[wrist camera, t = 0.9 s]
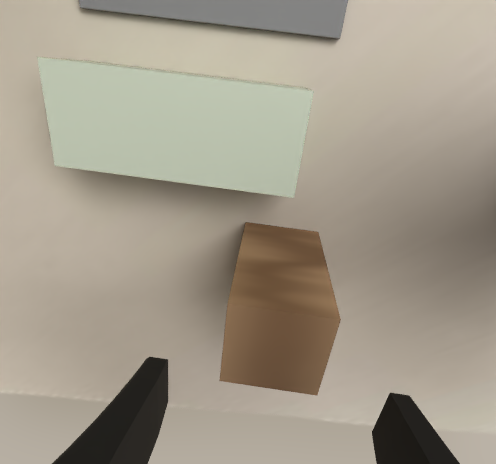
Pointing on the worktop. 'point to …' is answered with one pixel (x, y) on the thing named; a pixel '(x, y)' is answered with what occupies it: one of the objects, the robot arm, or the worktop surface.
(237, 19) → the mat
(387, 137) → the worktop surface
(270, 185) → the pale green rectangular block
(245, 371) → the walnut block
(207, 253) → the worktop surface
